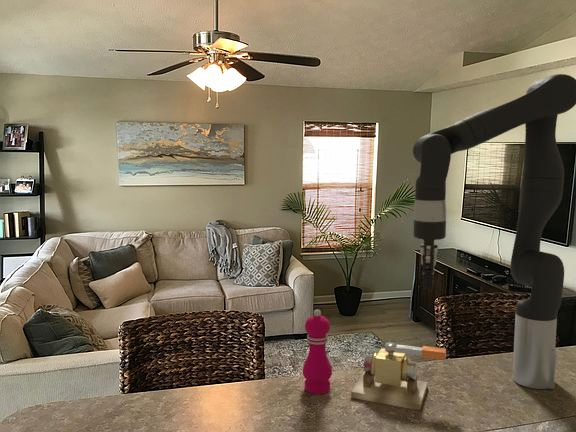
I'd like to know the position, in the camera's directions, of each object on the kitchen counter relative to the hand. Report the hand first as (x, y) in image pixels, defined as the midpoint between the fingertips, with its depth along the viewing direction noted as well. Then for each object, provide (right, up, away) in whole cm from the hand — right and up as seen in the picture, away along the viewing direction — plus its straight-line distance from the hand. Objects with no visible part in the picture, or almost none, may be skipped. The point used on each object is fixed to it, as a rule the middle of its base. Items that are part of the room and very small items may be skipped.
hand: (428, 288), depth 122 cm
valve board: (-10, -25, -2) cm, 27 cm away
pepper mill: (-27, -25, +1) cm, 37 cm away
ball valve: (-10, -21, -2) cm, 24 cm away
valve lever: (-5, -15, -5) cm, 16 cm away
